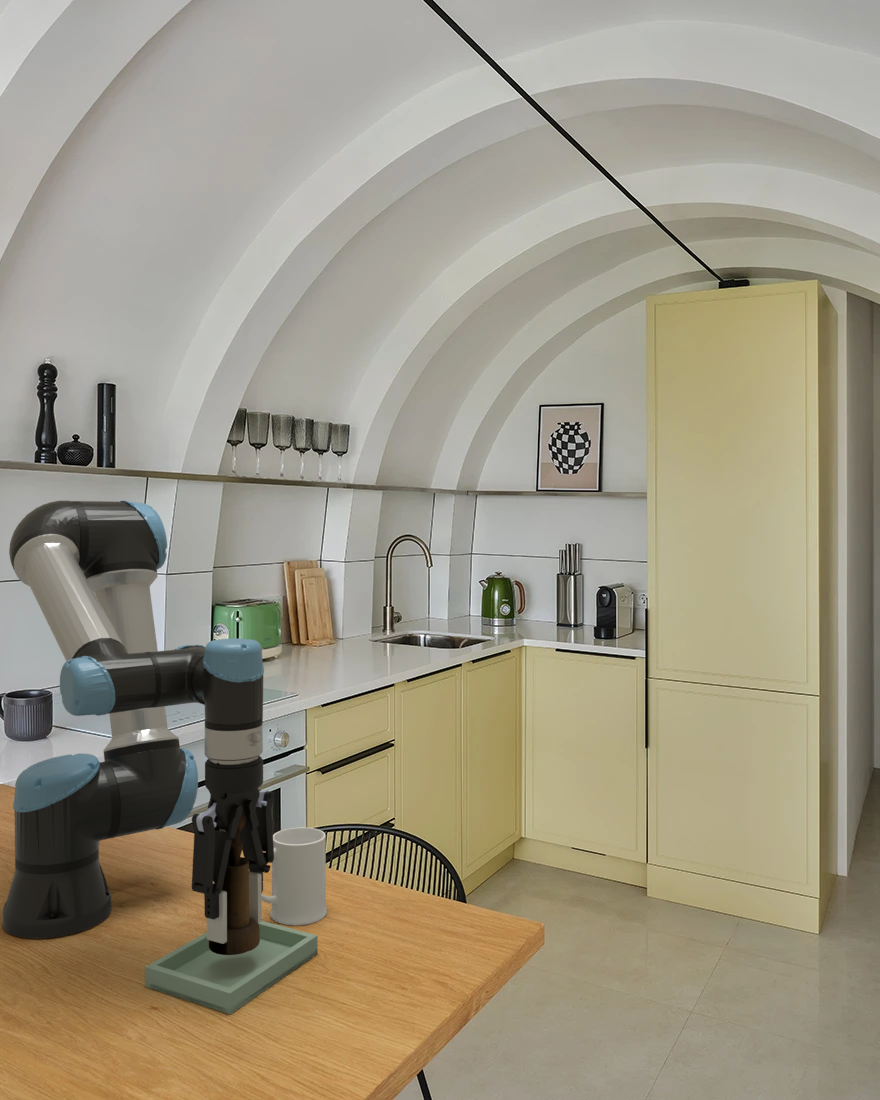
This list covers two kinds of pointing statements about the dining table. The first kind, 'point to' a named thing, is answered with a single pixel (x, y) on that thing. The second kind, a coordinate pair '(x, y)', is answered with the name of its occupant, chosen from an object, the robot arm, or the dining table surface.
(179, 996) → the tray
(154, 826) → the robot arm
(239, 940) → the wooden pepper mill
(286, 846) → the mug
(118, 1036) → the dining table surface
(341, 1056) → the dining table surface
